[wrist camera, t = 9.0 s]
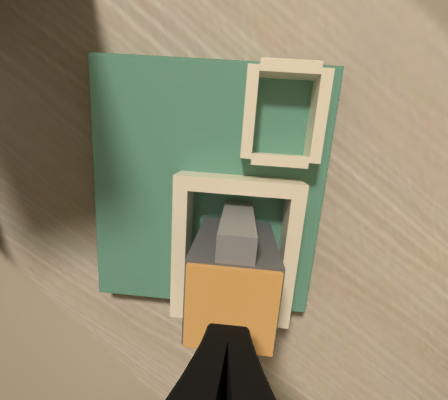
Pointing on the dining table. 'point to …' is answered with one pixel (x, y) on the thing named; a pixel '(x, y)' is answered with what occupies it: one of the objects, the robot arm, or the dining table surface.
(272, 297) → the plug
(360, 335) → the dining table surface
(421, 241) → the dining table surface
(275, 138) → the board
